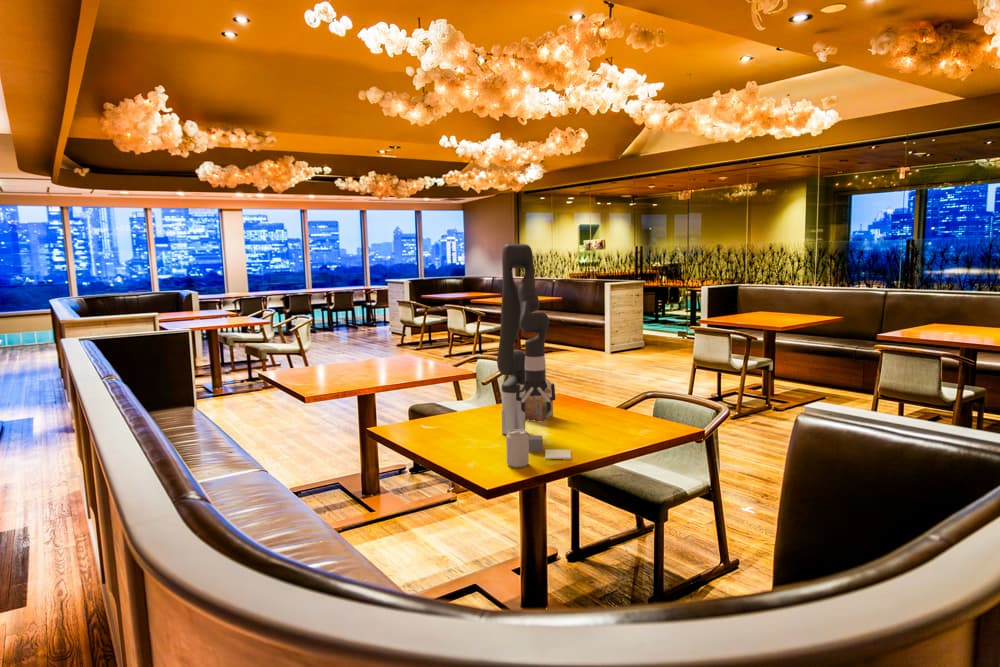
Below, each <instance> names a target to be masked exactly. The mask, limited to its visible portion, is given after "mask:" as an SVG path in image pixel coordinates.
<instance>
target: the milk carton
mask: <svg viewBox="0 0 1000 667" xmlns="http://www.w3.org/2000/svg"><path fill="white" fill-rule="evenodd" d="M551 383H552V382H551V381H550V380H548V379H547V378H546V384H551ZM545 392H546V393H547V395H548V396H549V397H552V391H551V390H550V389H549V387H547V388H546V390H545ZM525 393H526V390H525ZM550 406H551V409H550V411H549V412H547V400H546V399H545V398H544V397H543V396H542V395H540V396H531V395H529V396H528V397H527V399H526V400H525V419H529V420H528V421H531V420H535V421H534V422H538V421H541V423H543V422H544V420H545V421H547V420H549V419H551V418H553V417H554V400H553V401H551V403H550ZM552 416H553V417H552ZM550 417H551V418H550ZM548 418H549V419H548ZM546 419H547V420H546ZM542 421H543V422H542Z"/></svg>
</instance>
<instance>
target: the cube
mask: <svg viewBox="0 0 1000 667" xmlns="http://www.w3.org/2000/svg"><path fill="white" fill-rule="evenodd" d="M543 446H544V445H543V435H533V434H532V435H529V434H528V449H529V453H531V452H543V448H544V447H543ZM531 454H532V453H531Z"/></svg>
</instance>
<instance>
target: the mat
mask: <svg viewBox="0 0 1000 667" xmlns="http://www.w3.org/2000/svg"><path fill="white" fill-rule="evenodd" d="M544 451H545V452H544V453H545V454H544V455H545V456H544V458H545V459H547V460H546V461H548V460H549V459H564V460H563V461H569V460H570V461H572V453H571V449H545V450H544ZM566 459H567V460H566ZM549 461H550V460H549Z"/></svg>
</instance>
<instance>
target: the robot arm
mask: <svg viewBox="0 0 1000 667" xmlns="http://www.w3.org/2000/svg"><path fill="white" fill-rule="evenodd" d="M501 254H502V256H501V258H502V261H501V264H502V265H501V267H502V290H501V291H502V296H501V307H500V308H501V311H500V330H499V331H500V333H499V334H500V335H499V336H500V337H499V341H498V342H499V343H498V351H497V358H496V359H497V360H496V361H497V362H496V364H497V369H498V371H499V373H500V374H501V375H502V376H508V378H507V379H506V380H505V381H504V382H503V383H501V384H502V385H501V434H502V435H505V436H507V434H508V431H509V430H512V429H523V430H525V431H526V420H525V400H526V399H527V397H528V396H529V395H531V396H540V395H542V396H543V397H544V398H545V399H546V400H547V412H549V411H550V409H551V406H550V403H551V401H553V402H554V401H555V400H556V390H555V389H556V386H555V383H554V382H551V384H546V379H547V374H546V371H547V370H546V367H547V365H546V355H545V342H546V337H547V333H548V330H549V325H550V318H549V316H548V315H547V314H546V313H545V312H537V311H538V310H539V309H540V300H539V296H538V292H537V291H538V290H537V286H536V277H535V276H536V275H535V267H534V256H533V250H532V248H531V246H530V245H529V244H525V243H506V244H504V246H503V247H502V251H501ZM513 269H523V270H524V275H523V277H522V279H521V281H520V283H519V286H517V284H516V282H515V279H514V275H513ZM520 330H521V331H522V332H523V333H526V334H529V333H530V334H531V333H532V334H533V333H537V334H536V336H535V337H531V338H529V339H527V340H525V342H524V351H522V350H520V349H515V350H514V348H515V342H516V338H517V336H518V334H519V332H520ZM547 387H549V389H550V390H551V391H552V397H549V396H548V395H547V393H546V392H545V390H546V388H547ZM525 390H526V393H525Z"/></svg>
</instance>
